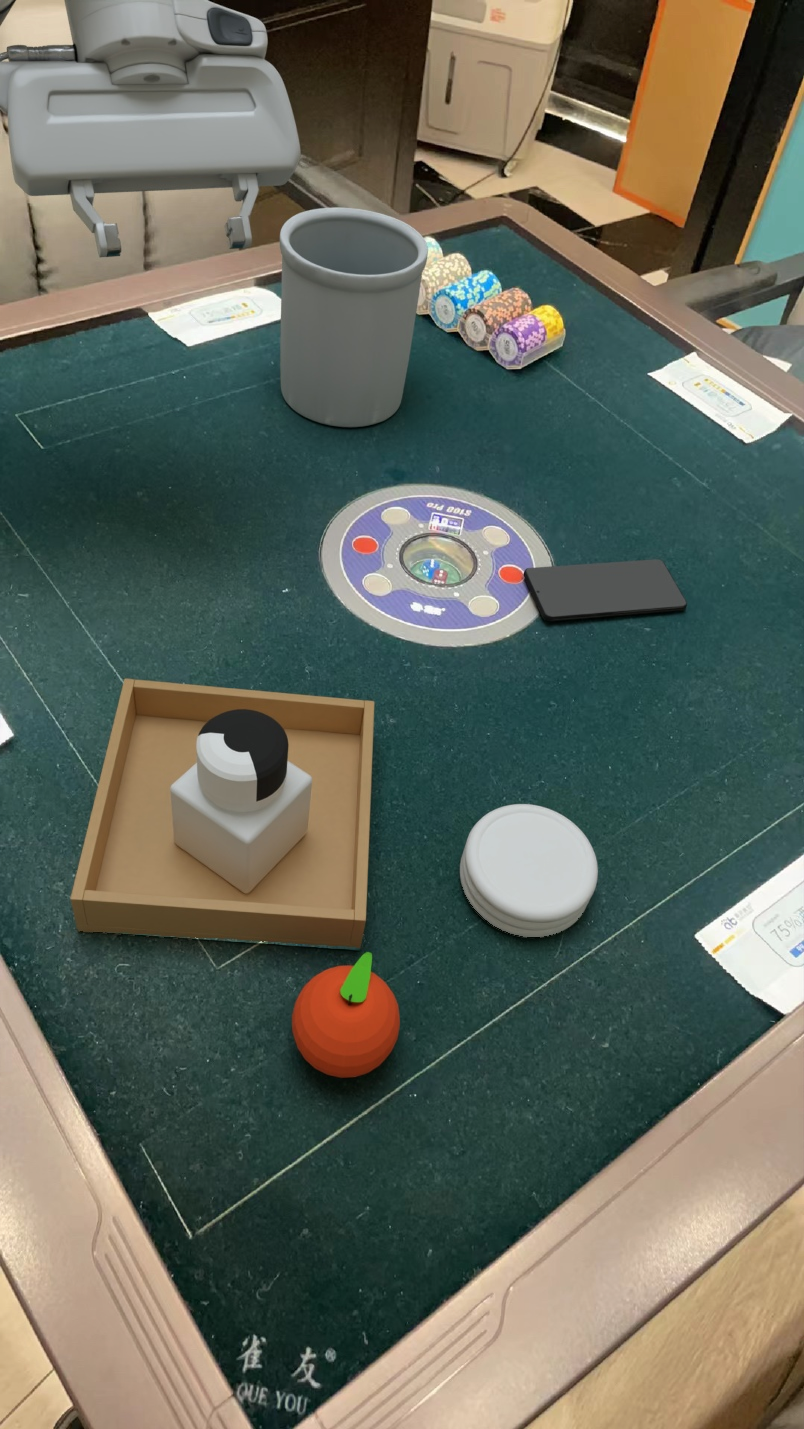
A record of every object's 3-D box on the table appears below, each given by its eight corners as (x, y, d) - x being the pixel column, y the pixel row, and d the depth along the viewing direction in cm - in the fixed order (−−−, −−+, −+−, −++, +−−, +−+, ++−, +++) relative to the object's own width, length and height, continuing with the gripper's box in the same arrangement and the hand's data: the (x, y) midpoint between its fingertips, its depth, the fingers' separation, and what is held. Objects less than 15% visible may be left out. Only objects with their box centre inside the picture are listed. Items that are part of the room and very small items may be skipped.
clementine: (315, 966, 73) (322, 916, 68) (410, 999, 72) (425, 951, 67) (273, 1073, 68) (277, 1028, 62) (375, 1109, 67) (387, 1067, 62)
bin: (77, 931, 72) (69, 899, 69) (128, 714, 85) (124, 678, 82) (359, 951, 74) (366, 920, 71) (368, 736, 87) (374, 700, 83)
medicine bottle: (236, 782, 81) (236, 679, 72) (308, 832, 79) (319, 732, 70) (171, 843, 77) (164, 741, 68) (246, 897, 75) (249, 800, 66)
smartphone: (690, 605, 101) (545, 617, 97) (686, 612, 102) (543, 624, 98) (662, 557, 105) (522, 567, 101) (659, 564, 106) (520, 573, 102)
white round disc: (608, 926, 78) (621, 902, 75) (483, 953, 75) (492, 929, 73) (558, 816, 84) (569, 791, 81) (441, 838, 81) (448, 812, 79)
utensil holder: (272, 352, 121) (277, 199, 108) (399, 358, 124) (419, 210, 111) (276, 428, 112) (282, 271, 99) (413, 434, 115) (437, 281, 101)
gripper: (-20, 20, 67) (27, 243, 69) (286, 22, 74) (321, 227, 76) (-17, 69, 73) (26, 274, 75) (266, 67, 80) (299, 256, 82)
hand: (176, 250), depth 76 cm, fingers open, 8 cm apart
